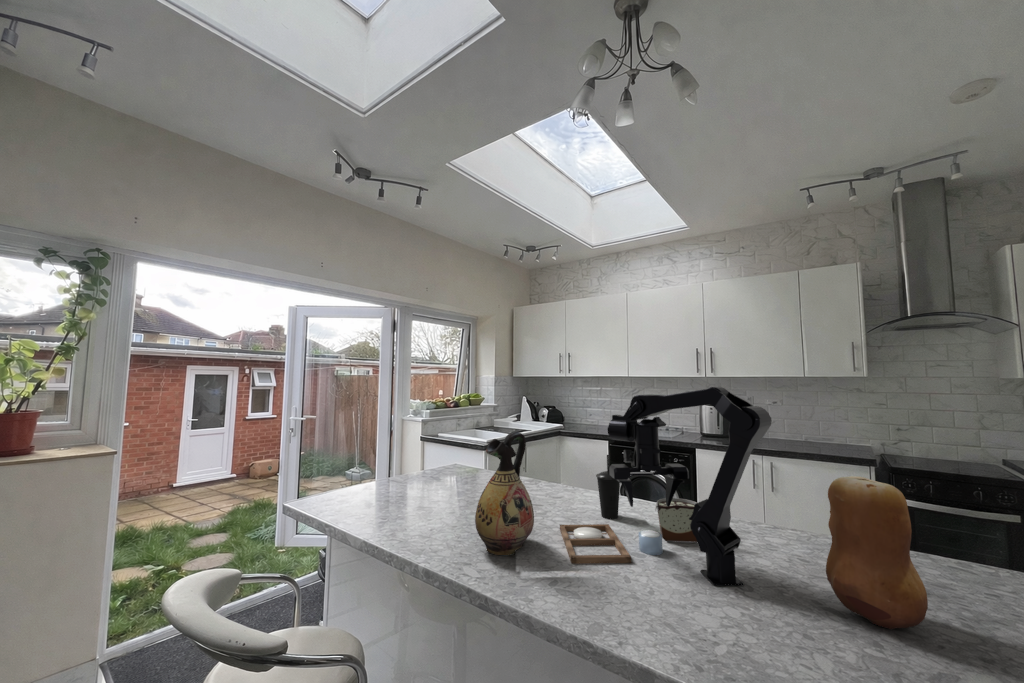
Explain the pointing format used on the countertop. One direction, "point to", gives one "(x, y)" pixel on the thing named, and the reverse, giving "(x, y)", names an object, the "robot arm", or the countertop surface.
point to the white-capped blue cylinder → (650, 542)
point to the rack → (595, 541)
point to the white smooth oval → (587, 533)
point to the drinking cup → (608, 494)
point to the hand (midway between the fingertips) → (649, 506)
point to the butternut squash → (873, 553)
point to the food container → (676, 520)
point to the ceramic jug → (505, 501)
